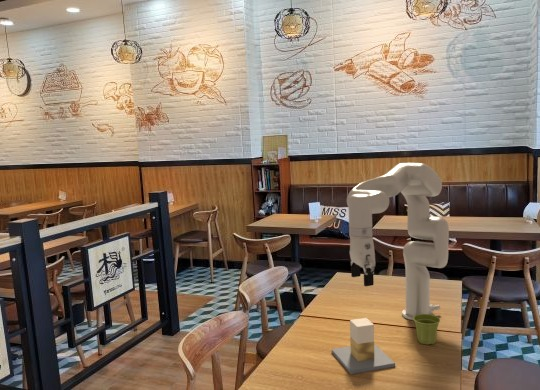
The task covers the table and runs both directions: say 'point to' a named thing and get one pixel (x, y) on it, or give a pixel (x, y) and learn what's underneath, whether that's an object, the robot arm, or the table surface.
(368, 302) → the table surface
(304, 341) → the table surface
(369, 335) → the cream block
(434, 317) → the plant pot
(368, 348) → the mustard block
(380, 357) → the plate
